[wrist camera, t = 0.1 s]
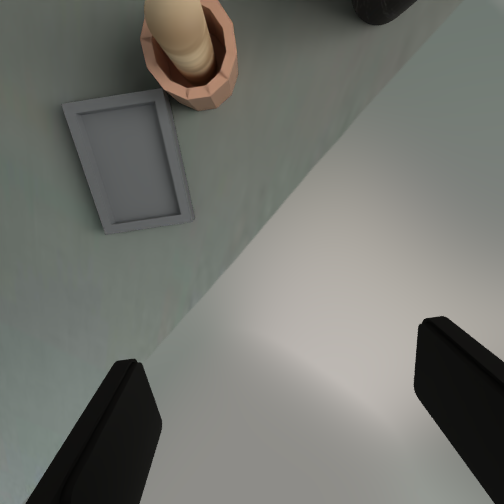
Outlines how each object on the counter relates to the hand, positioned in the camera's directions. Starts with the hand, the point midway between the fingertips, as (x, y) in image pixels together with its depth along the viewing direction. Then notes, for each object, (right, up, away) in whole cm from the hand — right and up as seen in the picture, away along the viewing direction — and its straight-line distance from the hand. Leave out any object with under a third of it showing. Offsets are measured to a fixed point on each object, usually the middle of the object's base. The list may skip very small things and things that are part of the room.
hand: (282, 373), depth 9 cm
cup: (-7, +26, +23) cm, 36 cm away
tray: (-16, +16, +27) cm, 35 cm away
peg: (-7, +26, +22) cm, 35 cm away
